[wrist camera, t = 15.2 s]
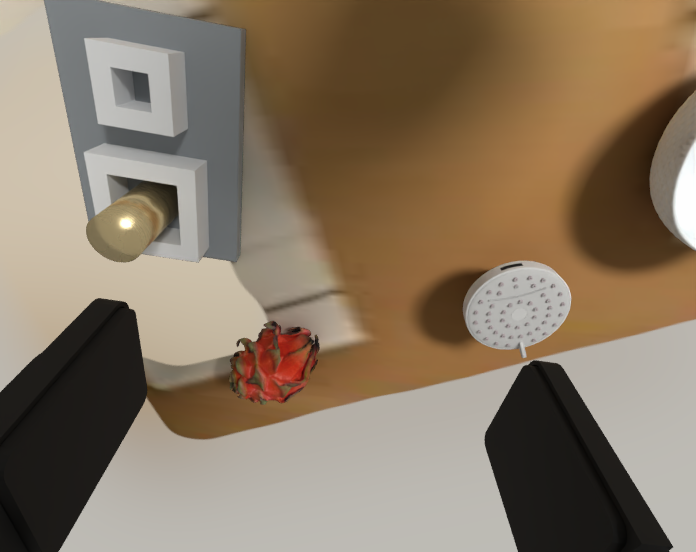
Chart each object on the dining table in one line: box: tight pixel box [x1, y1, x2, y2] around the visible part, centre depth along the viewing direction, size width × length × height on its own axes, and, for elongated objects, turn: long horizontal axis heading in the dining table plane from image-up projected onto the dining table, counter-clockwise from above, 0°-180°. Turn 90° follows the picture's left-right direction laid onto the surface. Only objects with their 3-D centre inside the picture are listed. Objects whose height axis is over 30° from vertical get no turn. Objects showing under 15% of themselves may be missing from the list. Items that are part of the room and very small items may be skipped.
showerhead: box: [463, 261, 571, 358], centre depth 38 cm, size 9×7×10 cm
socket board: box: [44, 0, 246, 262], centre depth 33 cm, size 20×14×4 cm
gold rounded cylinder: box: [86, 180, 179, 262], centre depth 32 cm, size 4×4×8 cm
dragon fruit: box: [229, 321, 320, 405], centre depth 44 cm, size 8×8×12 cm
